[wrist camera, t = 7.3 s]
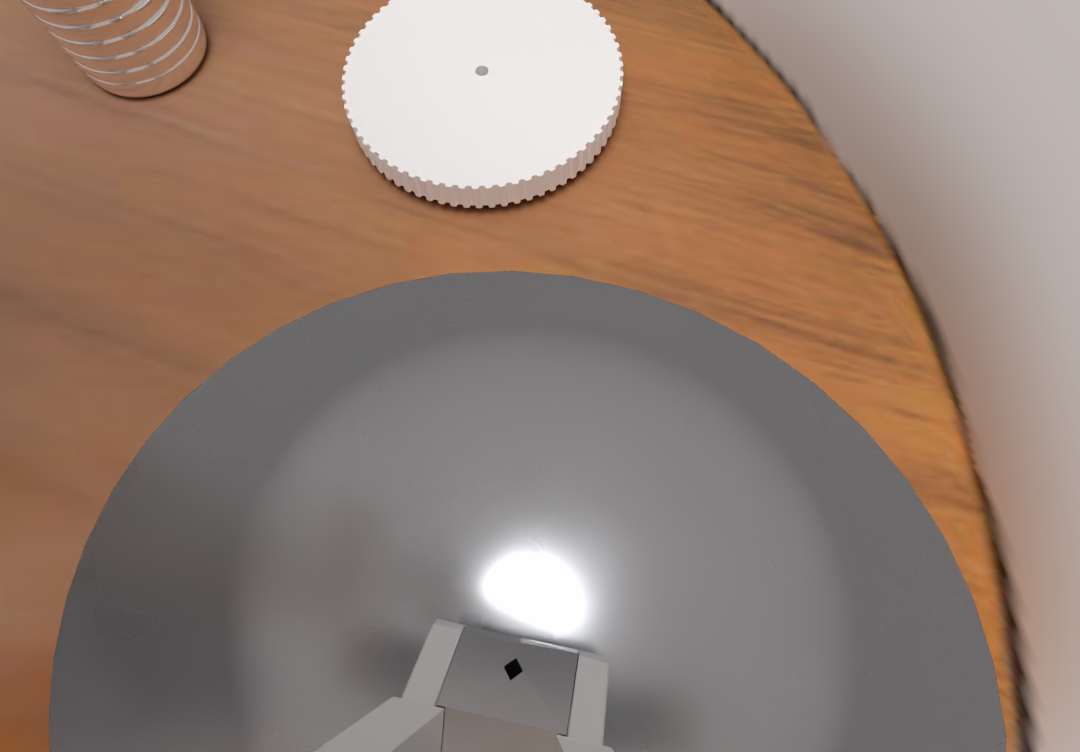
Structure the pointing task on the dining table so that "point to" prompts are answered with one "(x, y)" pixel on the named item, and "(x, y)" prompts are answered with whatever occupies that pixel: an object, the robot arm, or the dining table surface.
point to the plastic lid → (483, 95)
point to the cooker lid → (519, 536)
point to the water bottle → (127, 41)
